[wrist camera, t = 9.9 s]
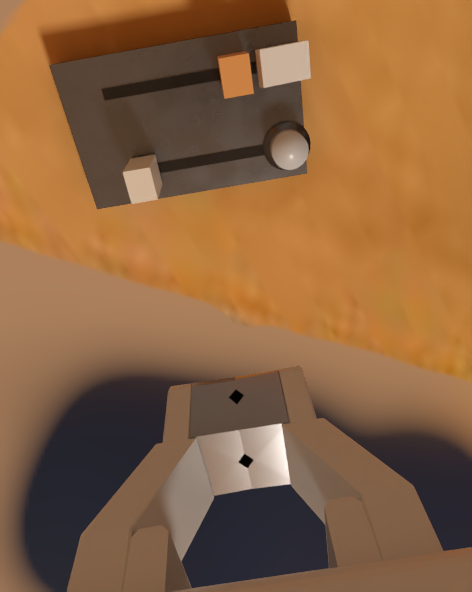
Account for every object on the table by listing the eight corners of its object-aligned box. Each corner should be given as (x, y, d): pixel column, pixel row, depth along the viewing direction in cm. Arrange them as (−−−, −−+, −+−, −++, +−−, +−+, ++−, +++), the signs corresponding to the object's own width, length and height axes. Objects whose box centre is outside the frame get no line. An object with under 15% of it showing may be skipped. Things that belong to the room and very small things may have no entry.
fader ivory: (155, 154, 35) (149, 167, 32) (162, 183, 36) (157, 199, 33) (130, 158, 35) (122, 172, 32) (138, 187, 36) (131, 203, 33)
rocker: (302, 40, 31) (308, 40, 31) (305, 77, 33) (310, 78, 32) (254, 49, 31) (259, 49, 30) (259, 87, 32) (263, 87, 31)
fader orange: (244, 51, 32) (248, 53, 28) (248, 87, 33) (253, 93, 30) (216, 55, 32) (218, 58, 28) (222, 92, 33) (224, 98, 30)
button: (302, 125, 35) (307, 129, 33) (305, 161, 36) (309, 166, 35) (267, 131, 35) (270, 136, 33) (271, 166, 36) (274, 172, 35)
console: (296, 20, 33) (303, 19, 31) (307, 166, 39) (313, 174, 36) (57, 63, 34) (46, 65, 31) (102, 201, 39) (95, 211, 37)
